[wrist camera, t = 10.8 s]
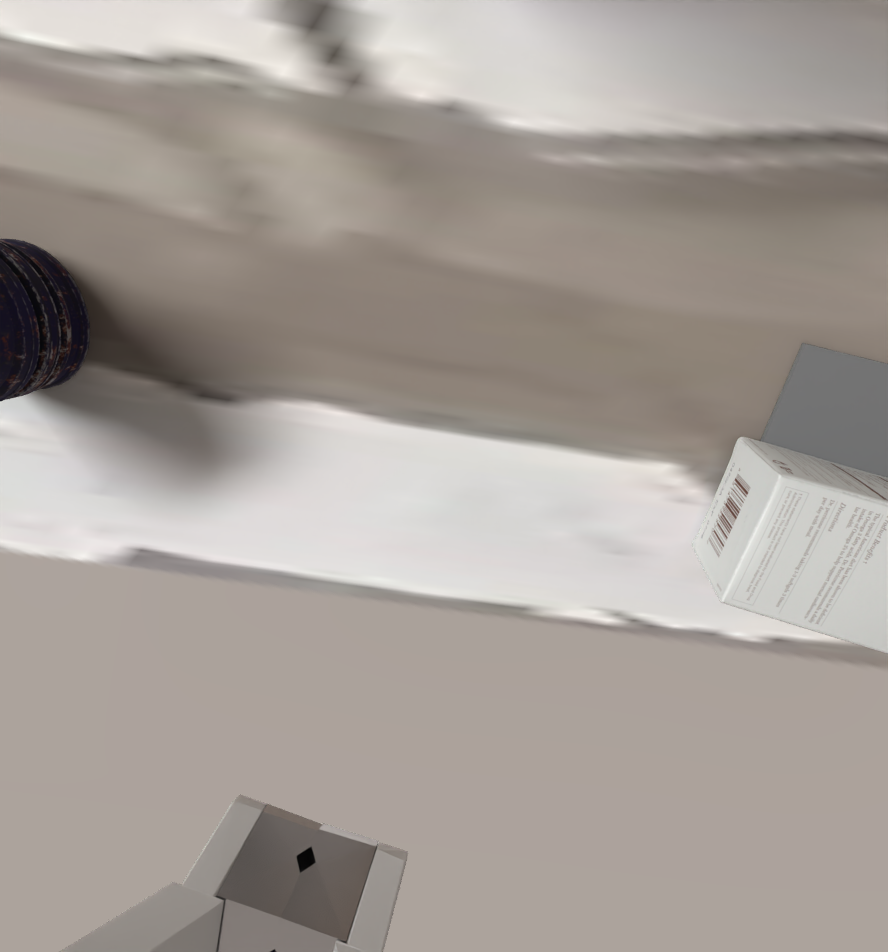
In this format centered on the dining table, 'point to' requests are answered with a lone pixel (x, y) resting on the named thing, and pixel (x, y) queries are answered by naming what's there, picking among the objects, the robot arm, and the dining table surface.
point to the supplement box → (800, 542)
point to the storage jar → (38, 321)
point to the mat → (834, 410)
